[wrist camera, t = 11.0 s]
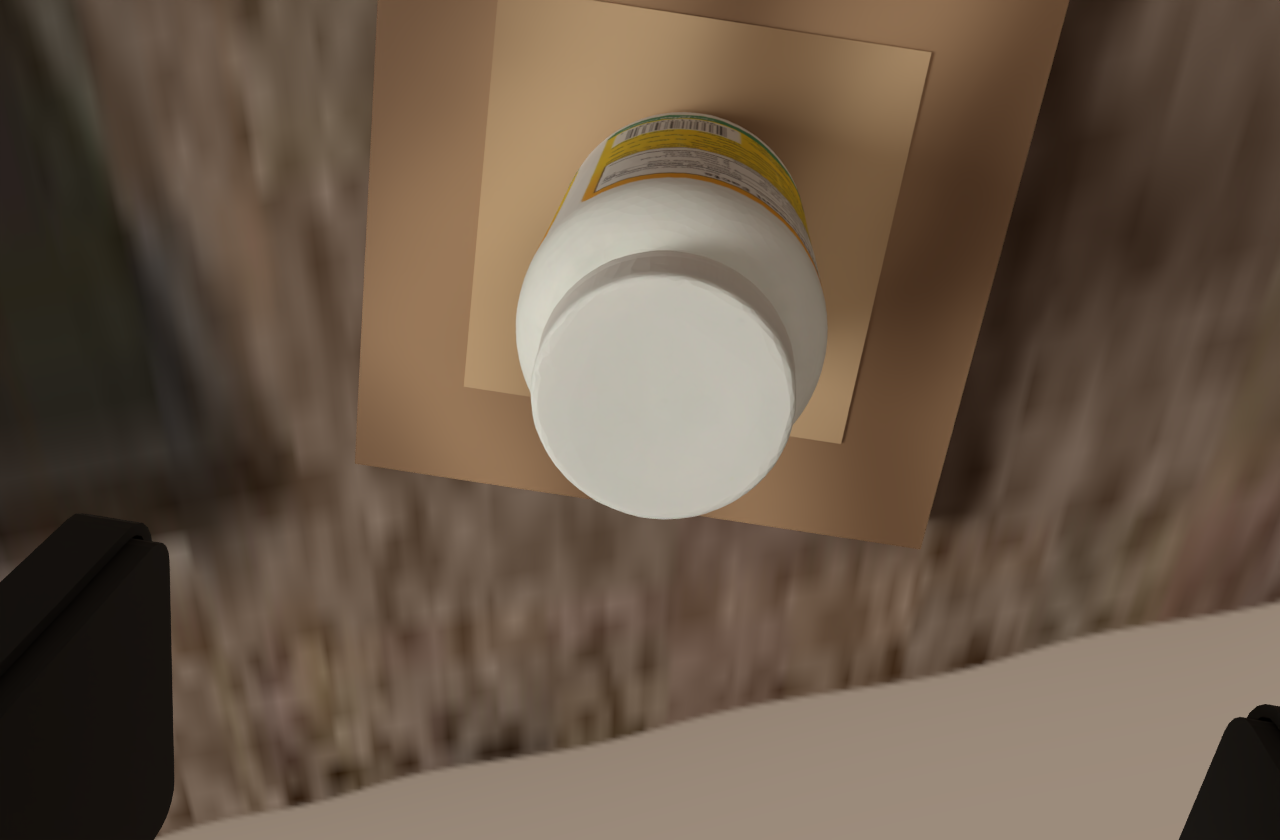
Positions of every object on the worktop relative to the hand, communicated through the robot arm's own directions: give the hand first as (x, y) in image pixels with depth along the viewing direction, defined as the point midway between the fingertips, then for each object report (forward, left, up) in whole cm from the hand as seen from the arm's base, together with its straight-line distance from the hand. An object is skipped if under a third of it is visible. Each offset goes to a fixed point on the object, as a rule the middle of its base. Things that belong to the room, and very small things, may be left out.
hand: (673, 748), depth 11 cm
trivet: (0, 0, -19) cm, 19 cm away
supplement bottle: (0, 0, -18) cm, 18 cm away
